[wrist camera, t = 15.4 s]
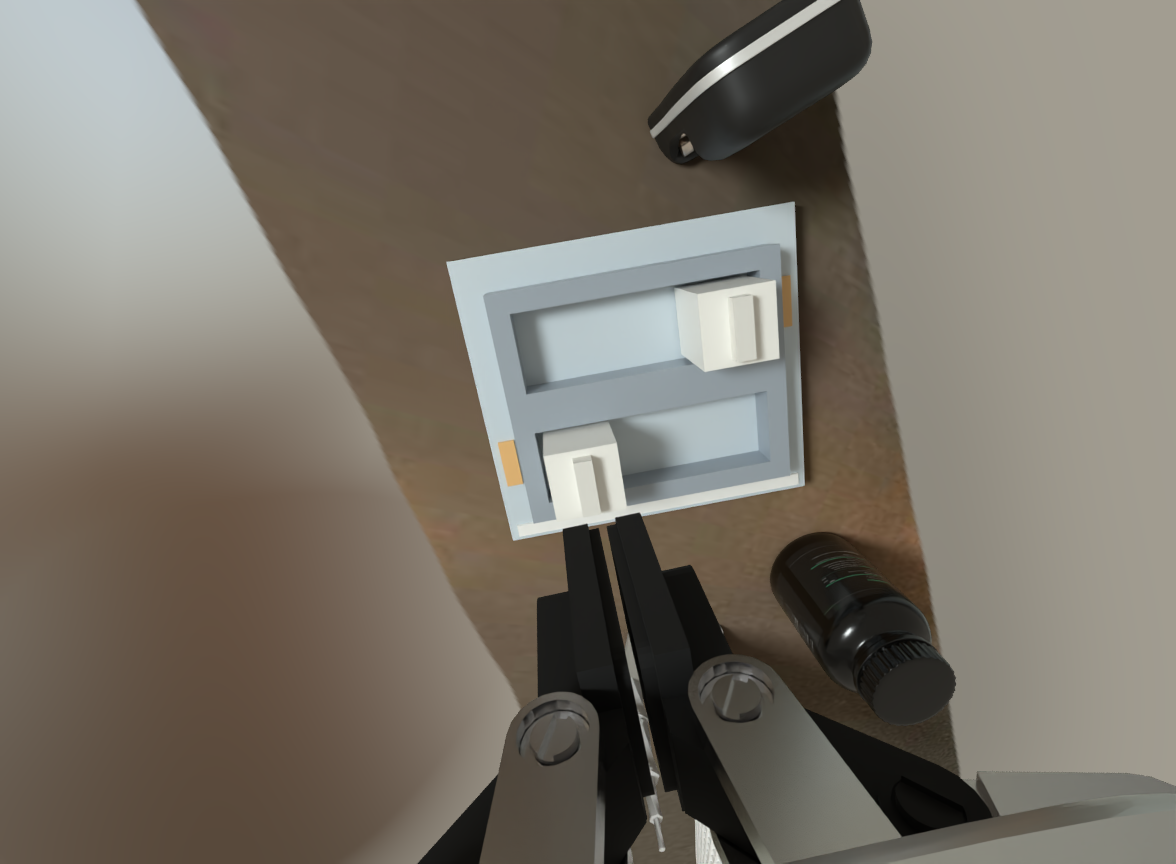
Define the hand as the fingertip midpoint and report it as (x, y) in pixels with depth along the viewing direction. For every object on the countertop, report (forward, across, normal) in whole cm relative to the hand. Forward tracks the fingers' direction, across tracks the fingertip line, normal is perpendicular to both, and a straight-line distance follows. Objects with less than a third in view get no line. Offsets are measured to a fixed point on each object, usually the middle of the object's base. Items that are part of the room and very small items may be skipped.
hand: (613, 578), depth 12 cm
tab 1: (+22, 0, +7) cm, 23 cm away
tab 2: (+23, -9, 0) cm, 24 cm away
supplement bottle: (+24, -15, +20) cm, 35 cm away
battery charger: (+25, -11, -10) cm, 29 cm away
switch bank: (+24, -4, +3) cm, 25 cm away
